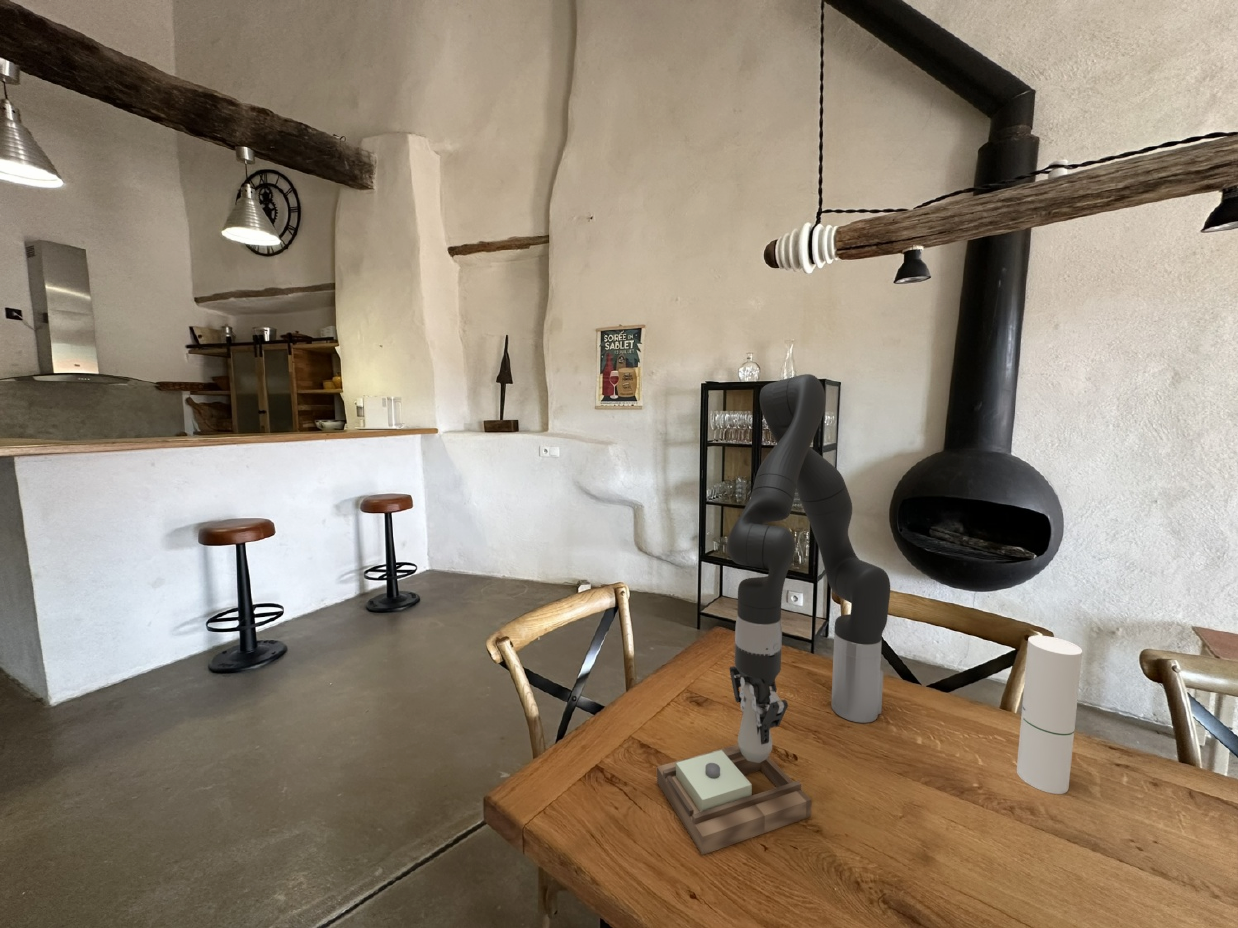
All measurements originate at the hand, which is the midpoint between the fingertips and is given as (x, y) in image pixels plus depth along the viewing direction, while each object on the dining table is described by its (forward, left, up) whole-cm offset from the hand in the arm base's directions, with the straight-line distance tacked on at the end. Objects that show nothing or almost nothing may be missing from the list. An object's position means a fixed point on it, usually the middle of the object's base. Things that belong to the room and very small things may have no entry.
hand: (755, 737), depth 89 cm
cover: (+8, 0, -7) cm, 11 cm away
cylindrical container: (-49, +16, -10) cm, 53 cm away
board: (+5, 0, -10) cm, 11 cm away
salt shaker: (0, 0, -3) cm, 3 cm away
